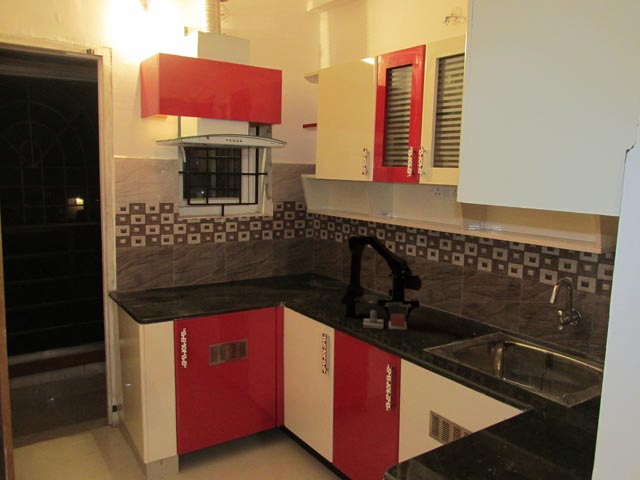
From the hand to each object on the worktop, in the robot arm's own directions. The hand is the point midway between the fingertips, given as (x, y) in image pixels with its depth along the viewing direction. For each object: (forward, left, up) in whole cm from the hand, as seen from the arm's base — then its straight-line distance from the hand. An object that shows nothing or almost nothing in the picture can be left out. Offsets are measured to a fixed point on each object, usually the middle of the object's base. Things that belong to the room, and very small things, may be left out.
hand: (397, 320), depth 247 cm
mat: (0, 0, -2) cm, 2 cm away
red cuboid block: (0, 0, -2) cm, 2 cm away
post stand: (0, -11, -2) cm, 11 cm away
